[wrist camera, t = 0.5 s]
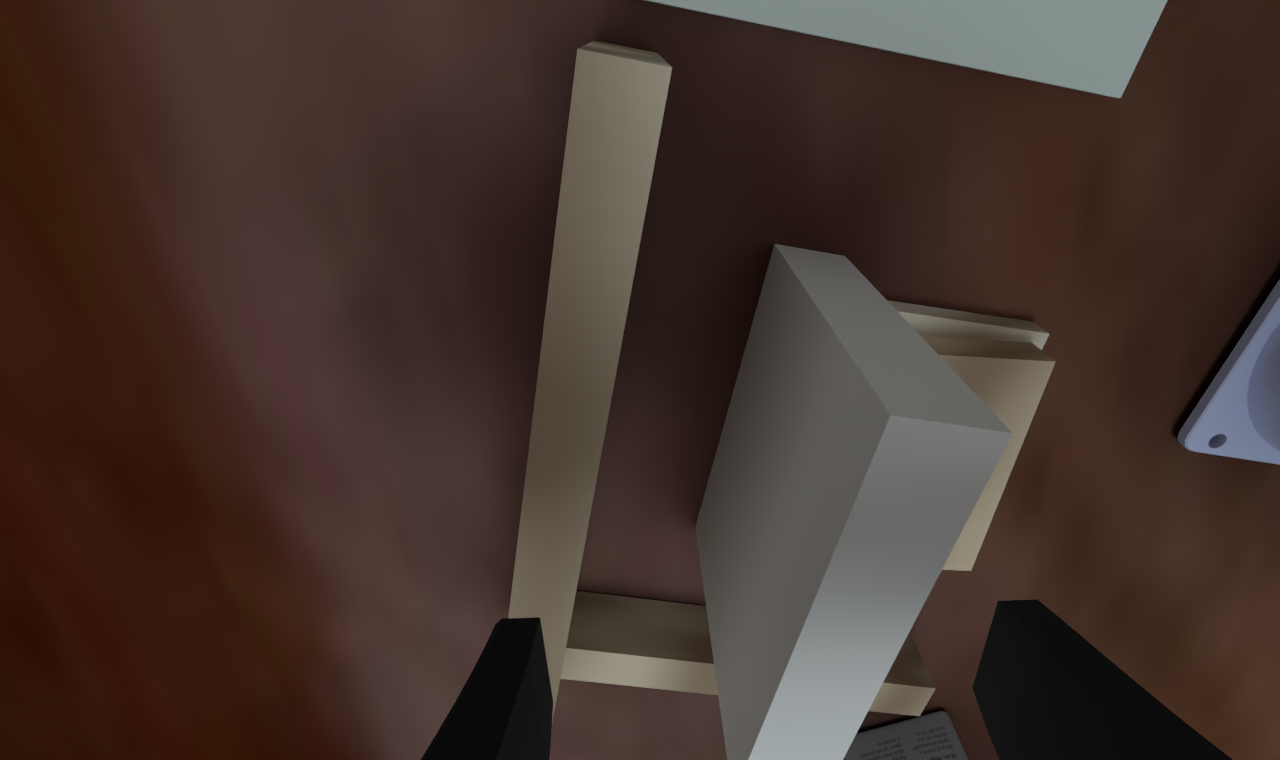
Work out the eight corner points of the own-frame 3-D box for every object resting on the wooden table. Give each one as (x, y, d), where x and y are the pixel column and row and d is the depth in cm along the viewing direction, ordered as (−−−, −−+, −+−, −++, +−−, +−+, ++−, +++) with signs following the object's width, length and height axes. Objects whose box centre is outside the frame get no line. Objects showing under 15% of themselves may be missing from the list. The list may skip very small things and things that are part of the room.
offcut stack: (1035, 318, 20) (1084, 353, 18) (936, 529, 23) (966, 579, 21) (878, 294, 19) (908, 328, 17) (802, 512, 23) (820, 562, 21)
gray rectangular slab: (844, 255, 18) (1013, 433, 10) (752, 534, 23) (819, 805, 15) (773, 243, 18) (889, 414, 10) (695, 527, 23) (732, 797, 15)
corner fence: (1156, 152, 17) (1394, 210, 12) (894, 657, 26) (963, 820, 21) (594, 40, 16) (577, 48, 10) (518, 614, 24) (489, 777, 19)
